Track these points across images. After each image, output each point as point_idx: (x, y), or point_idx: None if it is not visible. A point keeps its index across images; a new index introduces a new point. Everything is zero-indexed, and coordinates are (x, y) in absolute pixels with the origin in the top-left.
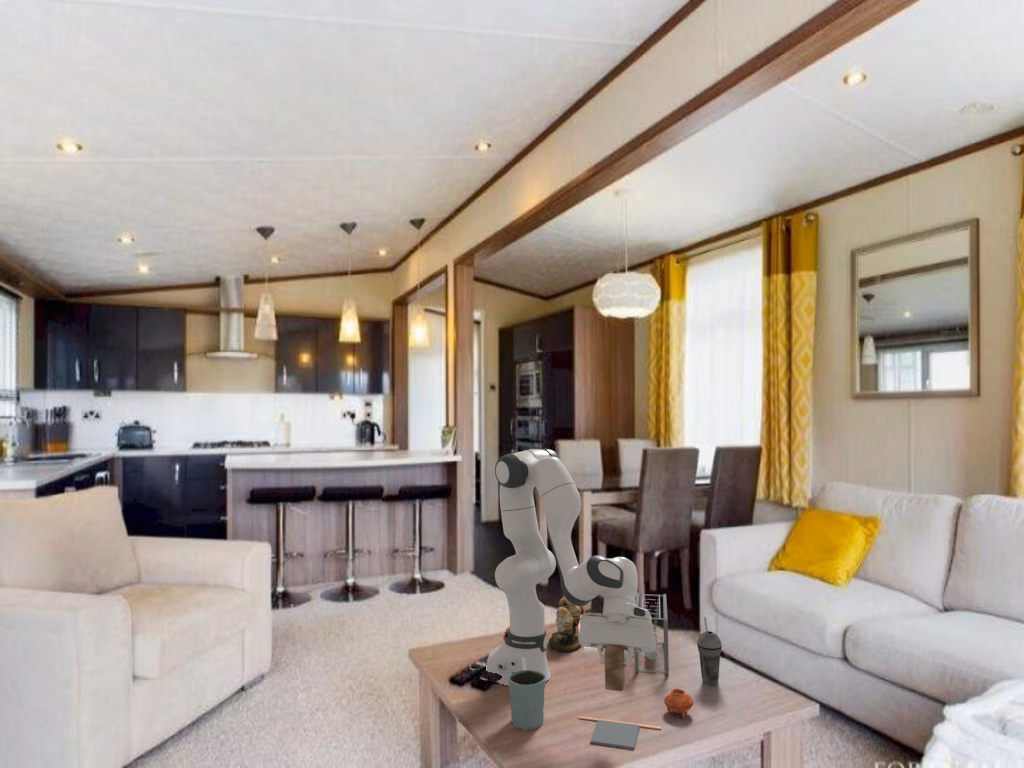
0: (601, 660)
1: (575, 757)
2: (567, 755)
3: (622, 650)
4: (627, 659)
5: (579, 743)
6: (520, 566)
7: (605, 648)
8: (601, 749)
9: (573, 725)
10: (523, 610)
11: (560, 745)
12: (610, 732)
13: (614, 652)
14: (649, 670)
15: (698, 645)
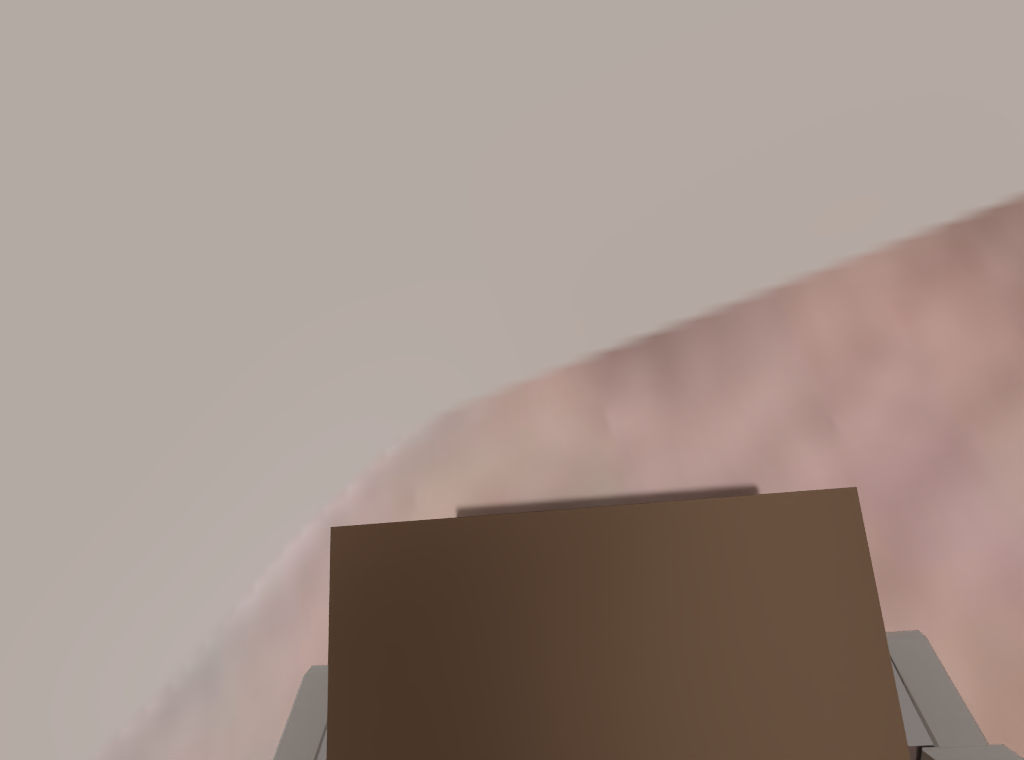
0: (890, 638)
1: (787, 306)
2: (844, 309)
3: (339, 734)
4: (298, 731)
5: (830, 476)
6: None
7: (873, 635)
8: (661, 454)
9: (991, 734)
10: None
11: (944, 404)
12: None
13: (541, 512)
14: None
15: None
